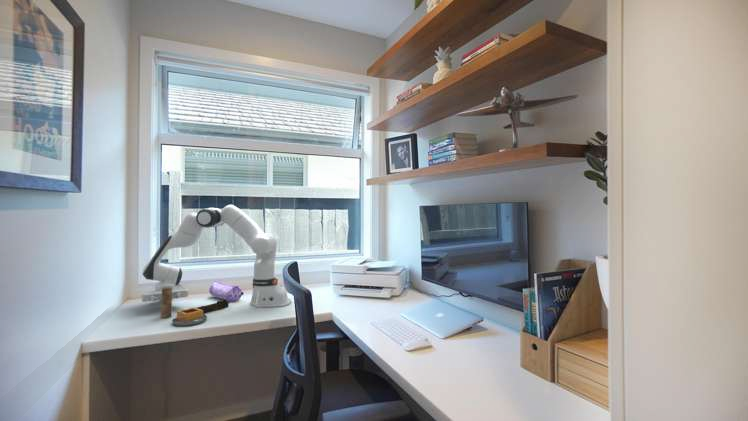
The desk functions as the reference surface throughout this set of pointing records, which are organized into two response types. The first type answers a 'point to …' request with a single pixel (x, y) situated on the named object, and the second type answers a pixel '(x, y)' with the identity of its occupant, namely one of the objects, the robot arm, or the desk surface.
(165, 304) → the brown wooden block
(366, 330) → the desk surface
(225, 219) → the robot arm
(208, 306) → the hand tool
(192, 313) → the collar base
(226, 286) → the pencil case
